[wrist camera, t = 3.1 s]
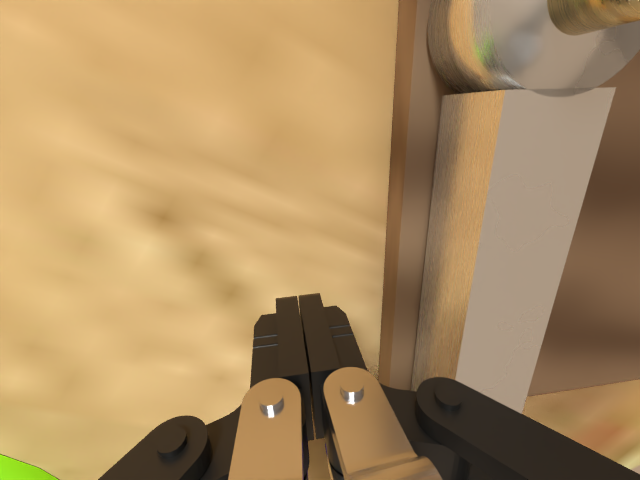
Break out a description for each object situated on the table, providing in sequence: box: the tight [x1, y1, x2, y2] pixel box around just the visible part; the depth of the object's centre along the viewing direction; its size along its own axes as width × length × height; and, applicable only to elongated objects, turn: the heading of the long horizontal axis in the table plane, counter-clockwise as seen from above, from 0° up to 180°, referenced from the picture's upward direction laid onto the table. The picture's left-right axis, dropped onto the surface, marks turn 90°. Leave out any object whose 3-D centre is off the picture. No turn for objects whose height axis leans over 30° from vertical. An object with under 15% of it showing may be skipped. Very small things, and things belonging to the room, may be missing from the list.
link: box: [411, 0, 640, 414], centre depth 10 cm, size 18×4×5 cm, turn 2°
